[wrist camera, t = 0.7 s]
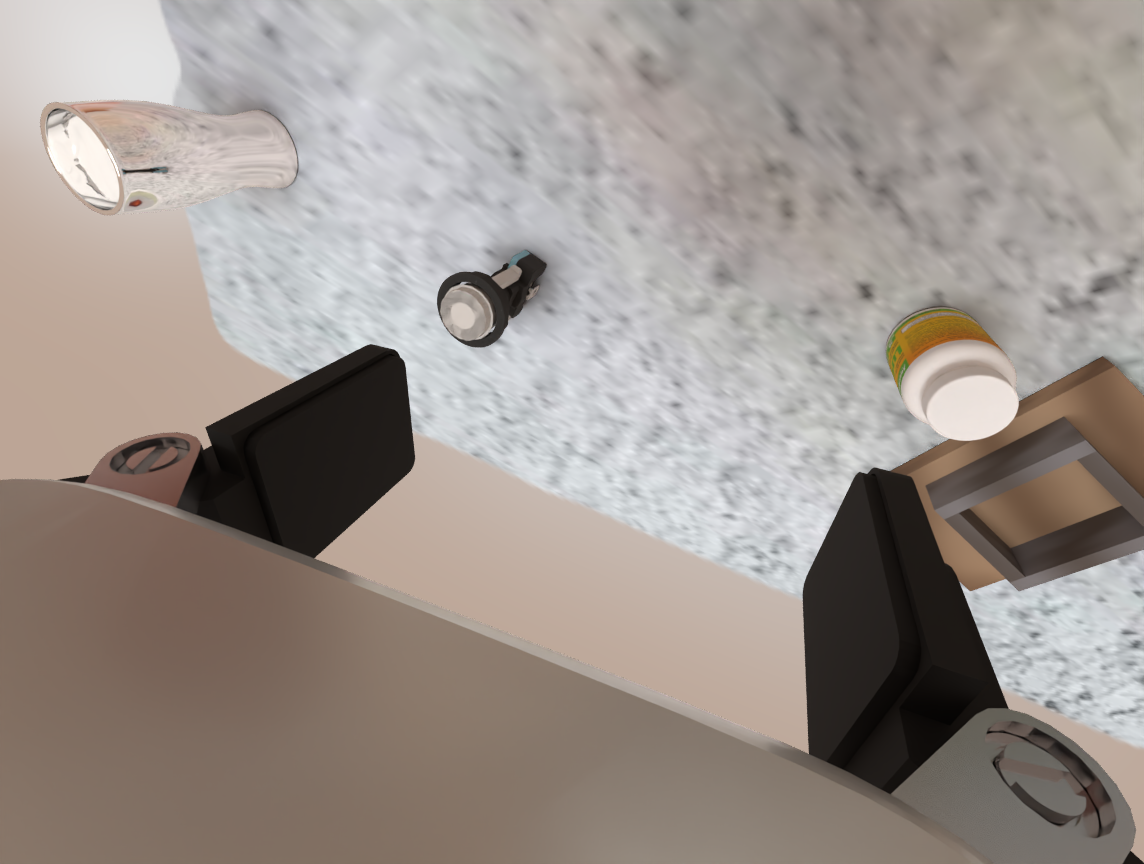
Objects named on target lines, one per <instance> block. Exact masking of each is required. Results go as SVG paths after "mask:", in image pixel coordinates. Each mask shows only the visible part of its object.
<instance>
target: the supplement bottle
mask: <svg viewBox="0 0 1144 864" xmlns="http://www.w3.org/2000/svg"><path fill="white" fill-rule="evenodd" d="M886 358H887V361H888V364H889V367H890V369H891V372H892V374H893V377H894V380H895V382H896V385H897V387H898V390H899V392H900V395H901V397H902V400H903V402H904V403H905V406H906V407H907V409H908V410H909V411H910V413H911V414H912V415H914V416H915V417H916V418H917V419H919V420H920V421H922V422H924V423H926V424H929V425H930V426H931V427H932V428H933V429H934V430H935V431H936V432H937V433H939V434H940V435H942V436H944V437H947V438H950V439H954V440H960V441H972V440H979V439H983V438H986V437H989V436H992V435H994V434H996V433H998V432H999V431H1001V430H1002V429H1004V428H1005V427H1006V426H1008V425H1009V423H1010V422H1011V421H1012V420H1013V419H1014V417H1015V415H1016V413H1017V410H1018V406H1019V399H1018V395H1017V393H1016V391H1015V387H1016V371H1015V368H1014V366H1013V364H1012V362H1011V361H1010V359H1009V358H1008V356H1007V355H1006V354H1005V353H1004V352H1003V350H1002V349H1001V348H1000V347H999V346H998V345H997V344H996V343H995V342H994V341H993V340H992V339H991V338H990V336H989V335H988V334H987V333H986V332H985V331H984V330H983V329H982V327H981V326H980V325H979V324H978V323H977V322H976V321H975V320H974V319H973V318H972V317H970V316H969V315H968V314H966V313H964V312H962V311H960V310H957V309H953V308H946V307H938V308H930V309H925V310H922V311H919V312H917V313H914V314H912V315H911V316H909V317H907V318H906V319H904V320H903V321H902V322H901V323H900V324H898V325H897V326H896V328H895V329H894V330H893V331H892V333H891V335H890V336H889V339H888V341H887V345H886Z"/></svg>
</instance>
